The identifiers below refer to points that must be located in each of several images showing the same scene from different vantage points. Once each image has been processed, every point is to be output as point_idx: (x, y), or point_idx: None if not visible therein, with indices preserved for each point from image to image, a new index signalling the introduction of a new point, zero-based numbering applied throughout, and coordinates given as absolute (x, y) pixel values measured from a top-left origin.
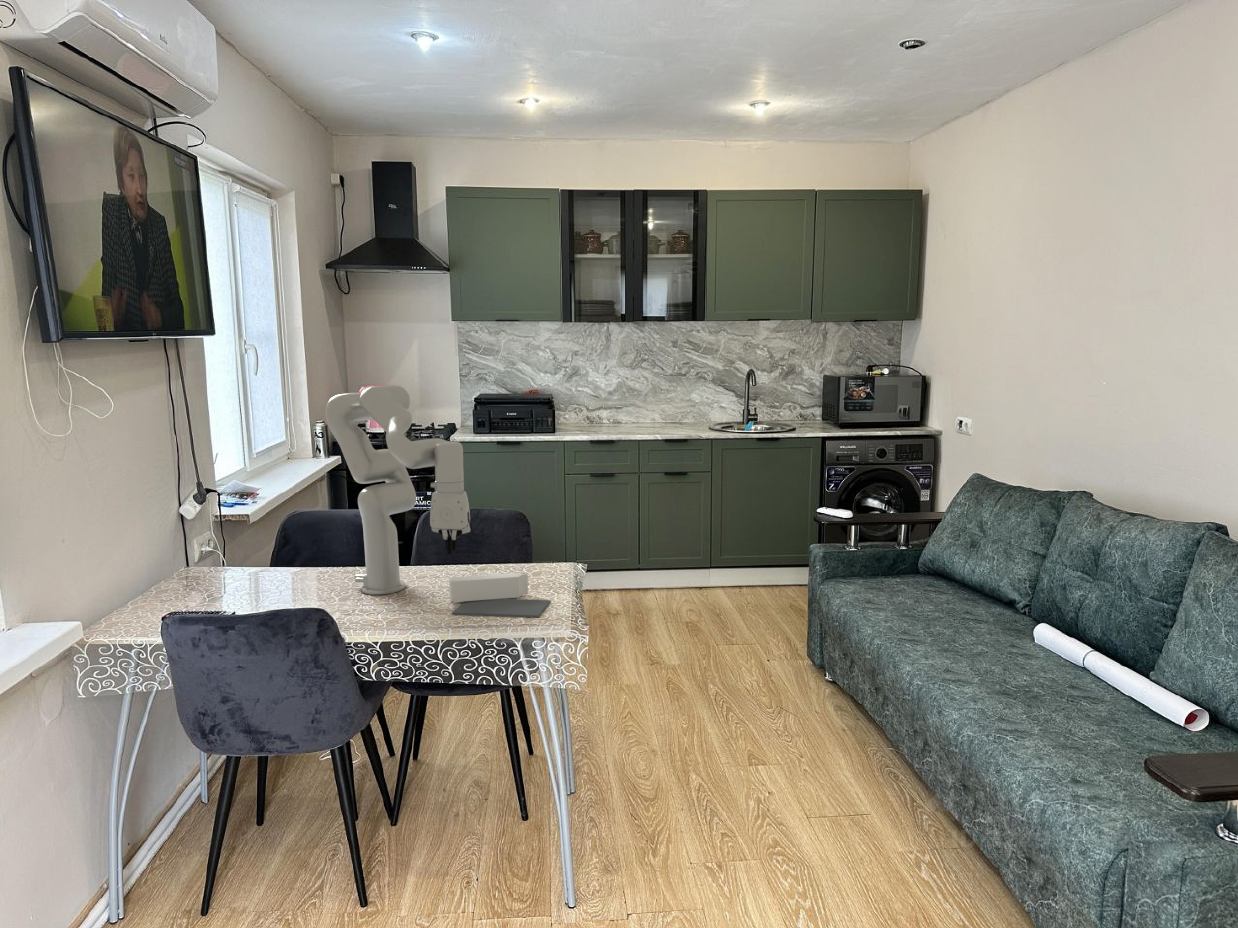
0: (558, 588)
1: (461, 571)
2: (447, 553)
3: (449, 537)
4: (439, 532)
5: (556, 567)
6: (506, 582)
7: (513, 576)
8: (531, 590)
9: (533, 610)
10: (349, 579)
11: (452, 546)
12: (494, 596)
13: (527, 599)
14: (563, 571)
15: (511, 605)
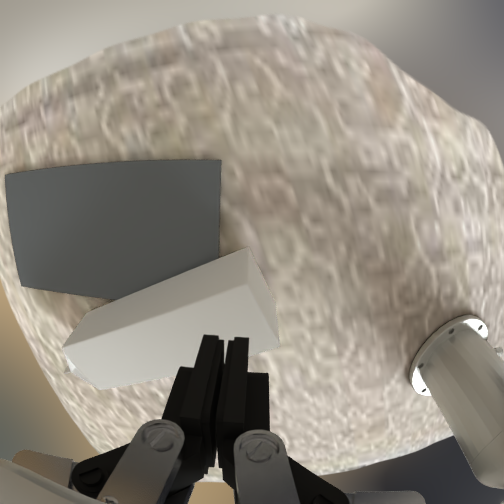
0: (55, 368)
1: (301, 458)
2: (243, 337)
3: (222, 457)
4: (336, 495)
5: None
6: (89, 330)
7: (74, 352)
8: None
9: (20, 208)
10: None
11: (194, 378)
12: (130, 297)
13: (60, 292)
14: (104, 444)
15: (72, 242)
